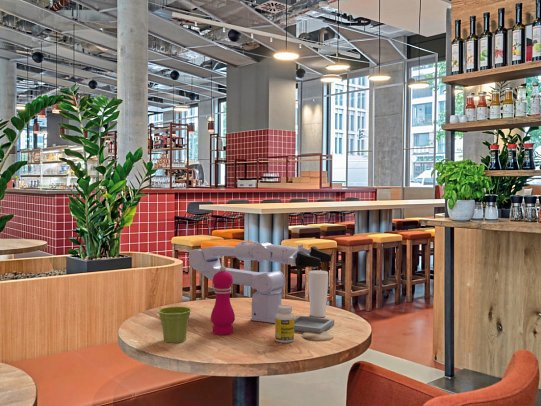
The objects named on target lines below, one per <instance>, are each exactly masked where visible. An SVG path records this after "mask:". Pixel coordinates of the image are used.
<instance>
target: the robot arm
mask: <svg viewBox="0 0 541 406" xmlns="http://www.w3.org/2000/svg"><path fill="white" fill-rule="evenodd" d="M221 257H235V258H236V259H238V261H239V260H240V261H257V262H259V263H260V262H263V261H267V262H273V263H276V264H284V265H291V266H295V269H296V270H302V269H304V268H314V267H315V268H317V267H320V266H322V264H321V263H329V262H332V254H329V253H327V252H325V251H322V250H320V249H319V248H317V247H316V246H311V247H310V249H307V248H305V247H304V245H303V243H301V244H298V246H297V247H296V246H289V245H280V244H272V243H271V242H267V241H264V242H262V243H259V241H254V242H247V240H242V241H241V242H238V243H237V244H236V246H233V245H228V246H227V245H213V246H206V247H200V248H198V249H197V248H195V249H191V250H190V252H189V254H188V261H189V263H190V266H191V268H192V269H193V270H195V271H198V272H199V273H201V274H202V275H203V276H204V277H206V278H207V279H208V280H209V281H213V276H214V275H215V274H216V273H217V272H219V271H220V267H221V266H222V264H221V260H220V258H221ZM225 268H226V270H225V271H227V272H229V273H230V274H231V275H232V277H233V283H232V284H234V285H240V286H246V287H251V288H252V290H256V291H255V292H254V293H253V294H252V298H251V318H250V320H251V321H255V322H256V321H257V322H263V323H270V324H271V323H272V324H275V316H276V314H277V313H279V312H278V306H279V305H282V295H283V294H282V293H283V292H282V291H283V288H284V286H285V285H286V276H285V274H284V273H283V272H282V271H280V270H273V271H269V272H268V271H258V272H257V271H251V270H245V269H238V268H230V267H225Z"/></svg>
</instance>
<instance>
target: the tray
mask: <svg viewBox="0 0 541 406" xmlns="http://www.w3.org/2000/svg"><path fill="white" fill-rule="evenodd" d="M334 326H335V319H331V318H325V317H324V318H323V317H312V316H307V315H301V314H299V315H297V316H296V317H295V316H294V332H297V333H298V332H299V333H305V332H314V333H322V332H323V331H325V332H327V331H328V330H330V329H331V328H332V327H334Z"/></svg>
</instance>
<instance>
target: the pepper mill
mask: <svg viewBox="0 0 541 406" xmlns="http://www.w3.org/2000/svg"><path fill="white" fill-rule="evenodd" d="M226 268H227V267H226V266H225V265H221V267H220V271H219V272H217V273H216V274H215V275H214V276H213V280H212V283H213V285H214V286H215V287H213V288H214V293H215V301H214V302H215V303H214V306H213V308H212V311H211V313H210V322H211V323H212V324H213V325H212V330H211V332H212V334H214V335H217V336H228V335H232V334H233V333H234V326H233V323H234V322H235V321H236V315H235V311H234V309H233V306H232V304H231V297H230V295H231V292H232V287H231V286H232V284H233V277H232V275H231V274H230V273H229V272H227V271H225V270H226Z"/></svg>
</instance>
